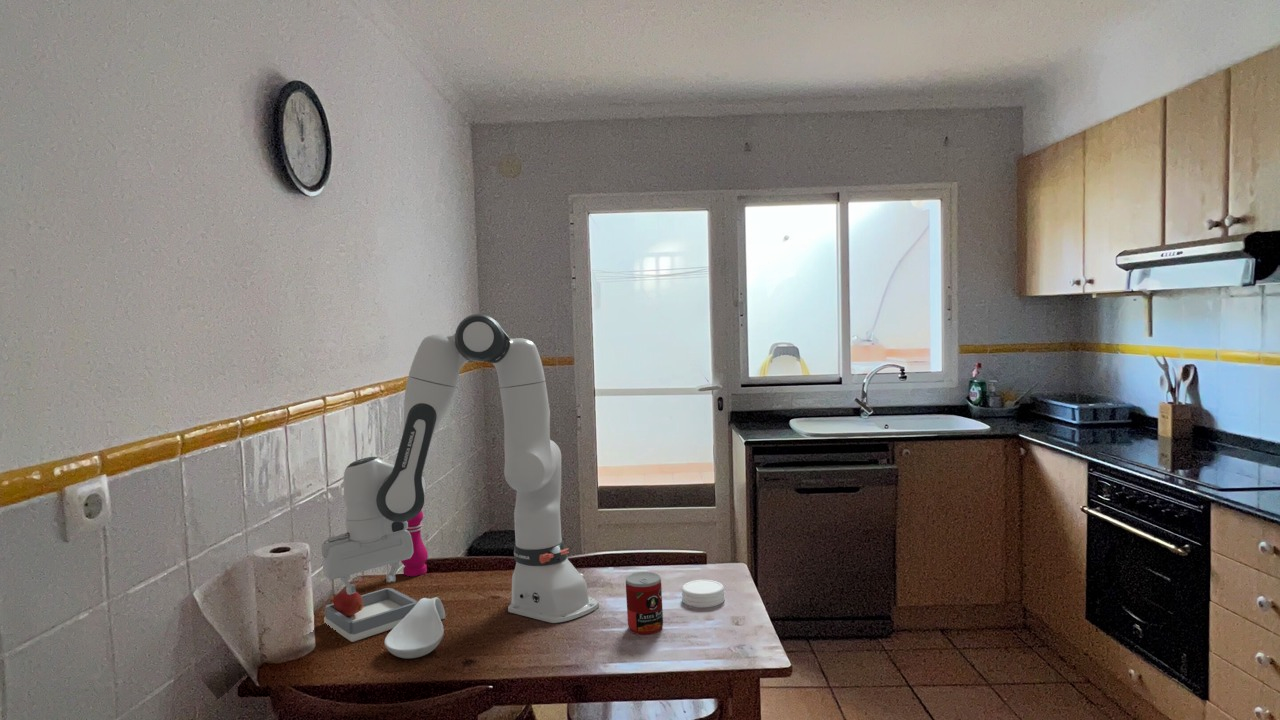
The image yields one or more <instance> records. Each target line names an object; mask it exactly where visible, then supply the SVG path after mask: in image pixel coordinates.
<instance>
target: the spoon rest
mask: <svg viewBox="0 0 1280 720" xmlns="http://www.w3.org/2000/svg"><path fill="white" fill-rule="evenodd" d="M417 601H418V602H417V604H416V605H415V606H414V607H413V608H412V610H411V611H410V612H409V613H408V614H407V615H406V616H405V617H404V618H403V619H402V620H401V621H400V622H399V623H398V624H397V625H396V626H395V627H394V628H393V629H390V630H389V631H390V632H388V634H387V635H386V637H385V638H384V642H383V645H384V647H385V649H386V650H387V651H388V652H389V653H390V654H392V655H393V656H395V657H398V658H401V659H417V658H421V657H424V656H426V655H429V654H430V653H431V652H433V651H434V650H435V649H436V648H437V647H438V646H439V645H440V643H441V641H442V639H443V637H444V625H443V622H442V620H444V619H446V610H445V607H444V605H443V603H442V601H441V599H440V598H439V597H437V596H436V597H432V598H427V597H423V598H420V599H419V600H417Z"/></svg>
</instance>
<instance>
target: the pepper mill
mask: <svg viewBox="0 0 1280 720" xmlns="http://www.w3.org/2000/svg"><path fill="white" fill-rule="evenodd" d="M423 519H424V513H423V511H422V510H421V511H420V513H419V514H418V515H417V516H416V517H414V518H413V519H411V520H408V521H407V522H408V528H407V529H406V530H407V531H409V533H410V534H411V538H412V543H413V555H412V557H411V558H410V559H406V560H402V561H400V562H401V564H402V565H403V566H404V567H403V569H402V570H403V572H402V573H403V575H404V576H405V575H407V576H406V577H409V576H410V577H419V576H422V575H425V574H426V573H427V571H428V566H427V564H426V562H427V561H428V559H429V555H428V554H429V553H428V550H427V548H426V545H424V542H423V539H422V535H421V530H422V529H423V527H422V526H423V524H422V521H423ZM418 575H419V576H418Z"/></svg>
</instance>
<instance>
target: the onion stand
mask: <svg viewBox="0 0 1280 720" xmlns="http://www.w3.org/2000/svg"><path fill="white" fill-rule="evenodd" d="M360 596H361V597H362V601H363V609H362V610H361V611H359V612H357V613H356V614H354V615H352V616H348V617H347V616H344V615H343V614H341V613H340V612H338V611H336V610H335V608H334V604H333V603H331V604H326V605H325V606H324V611H325V612H324V613H325V616H324V617H323V621H324V624H325V623H326V624H327V626H328V625H329V626H330V627H329V626H328V627H329V628H331V629H332V628H333V629H332V630H333V631H335V630H336V631H335V632H336V633H338V634H339V635H341V636H342V637H343V638H345V639H347V640H348V641H350V642H351V643H353V642H357V641H359V640H363V639H366V638H369V637H371V636H374V635H378V634H380V633H384V632H387V631H391V630H392V629H393V628H394V627H395V626H396V625H397V624H398V623H399V622H400V621H401V620H402V619H403V618H404V617H405V616H406V615H407V614H408V613H409V612H410V611H411V610H412V608H413V607H414V606H415V605H416V604H417V602H418V601H419V600H416V599H414V598H412V597H410V596H408V595H407V594H405V593H402V592H401V591H398V590H396V589H394V588H392V587H390V588H389V587H385V588H382V589H378V590H375V591H372V592H368V593H364V594H360ZM326 624H325V625H326Z"/></svg>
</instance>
